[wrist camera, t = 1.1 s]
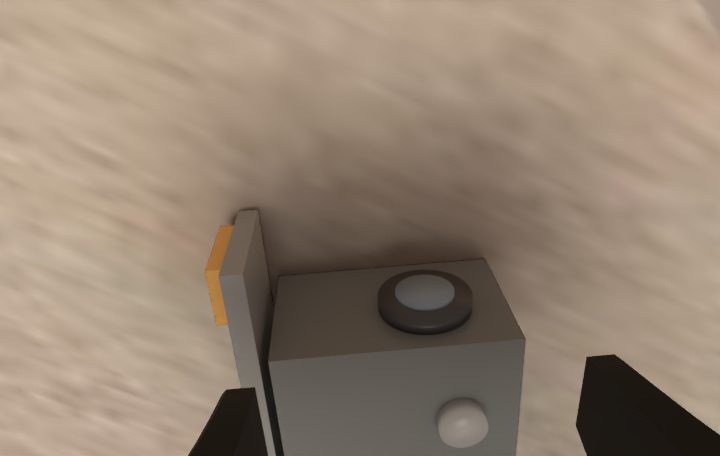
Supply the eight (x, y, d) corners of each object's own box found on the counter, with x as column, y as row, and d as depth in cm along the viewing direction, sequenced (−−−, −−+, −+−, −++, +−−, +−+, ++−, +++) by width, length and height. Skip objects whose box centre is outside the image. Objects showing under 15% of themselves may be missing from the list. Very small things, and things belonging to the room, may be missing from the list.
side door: (302, 473, 27) (299, 565, 23) (272, 475, 27) (263, 568, 23) (262, 209, 21) (247, 274, 17) (222, 212, 20) (199, 277, 17)
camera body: (477, 443, 27) (512, 559, 22) (306, 459, 27) (302, 580, 22) (485, 243, 22) (533, 333, 17) (276, 261, 22) (263, 357, 17)
